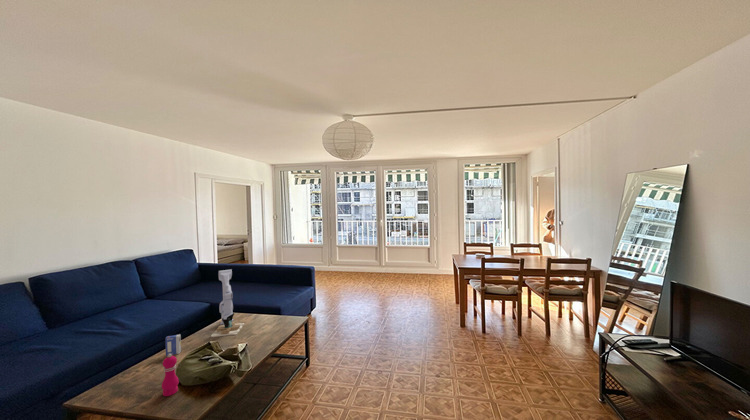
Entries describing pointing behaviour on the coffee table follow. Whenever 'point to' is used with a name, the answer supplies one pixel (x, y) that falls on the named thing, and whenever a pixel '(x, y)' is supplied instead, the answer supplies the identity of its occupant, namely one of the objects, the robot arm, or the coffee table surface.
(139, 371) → the coffee table surface
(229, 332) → the board
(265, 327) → the coffee table surface
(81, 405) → the coffee table surface
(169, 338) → the walkman
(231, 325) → the piece
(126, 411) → the coffee table surface
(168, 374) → the pepper mill
